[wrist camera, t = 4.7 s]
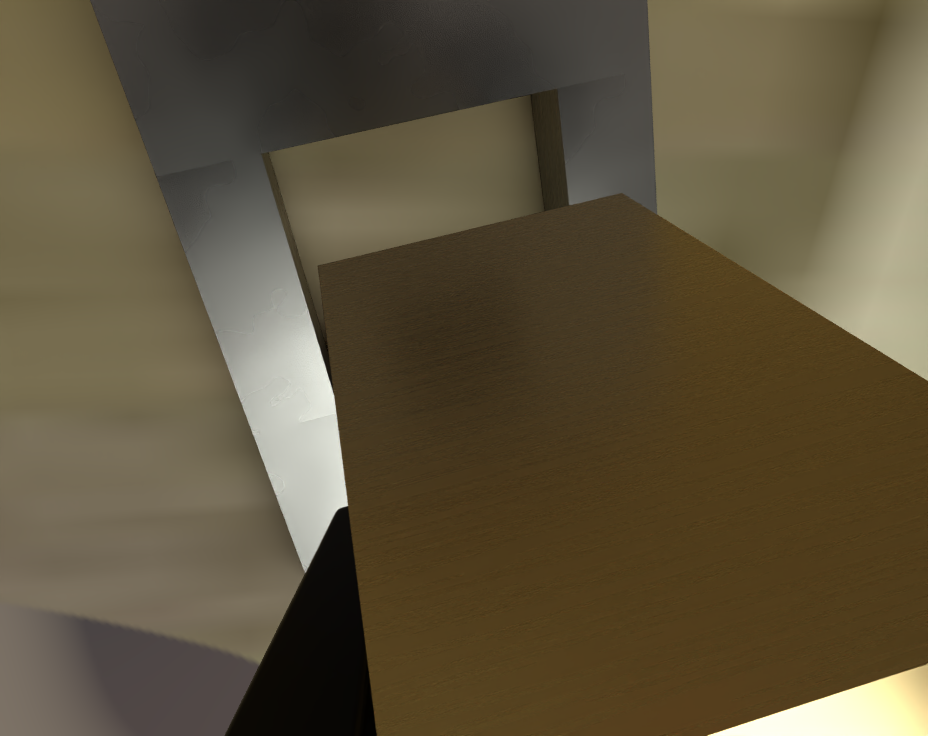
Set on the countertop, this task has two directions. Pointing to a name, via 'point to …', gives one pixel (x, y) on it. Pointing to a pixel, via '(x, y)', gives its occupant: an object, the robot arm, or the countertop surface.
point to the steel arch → (341, 113)
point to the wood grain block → (624, 490)
